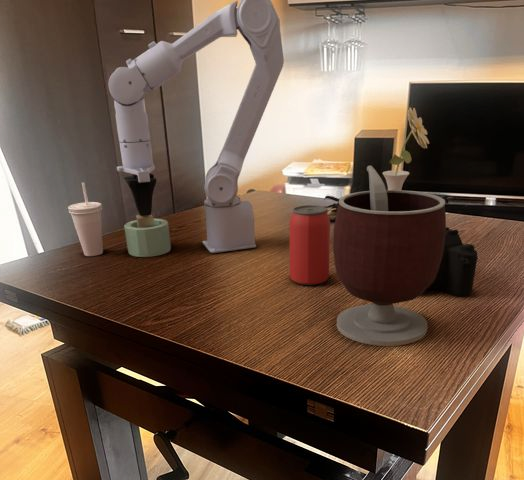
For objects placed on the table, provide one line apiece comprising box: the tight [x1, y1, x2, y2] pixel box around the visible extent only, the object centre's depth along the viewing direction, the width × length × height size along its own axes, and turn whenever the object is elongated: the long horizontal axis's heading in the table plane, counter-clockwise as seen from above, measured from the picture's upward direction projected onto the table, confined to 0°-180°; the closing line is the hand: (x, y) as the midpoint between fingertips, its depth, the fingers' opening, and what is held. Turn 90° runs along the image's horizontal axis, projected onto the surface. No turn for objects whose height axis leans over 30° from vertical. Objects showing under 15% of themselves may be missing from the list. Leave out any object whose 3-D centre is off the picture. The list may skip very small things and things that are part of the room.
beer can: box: [289, 204, 331, 286], centre depth 88 cm, size 7×7×12 cm
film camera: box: [427, 226, 478, 297], centre depth 84 cm, size 15×10×9 cm, turn 24°
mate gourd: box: [332, 165, 447, 347], centre depth 69 cm, size 16×14×20 cm
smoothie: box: [67, 181, 104, 257], centre depth 105 cm, size 6×6×14 cm
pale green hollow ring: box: [123, 218, 172, 258], centre depth 107 cm, size 9×9×6 cm
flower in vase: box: [382, 106, 430, 190], centre depth 102 cm, size 13×11×25 cm
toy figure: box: [322, 193, 341, 223], centre depth 124 cm, size 7×6×15 cm
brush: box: [135, 214, 154, 228], centre depth 105 cm, size 3×3×9 cm
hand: (144, 214), depth 105 cm, fingers closed on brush
